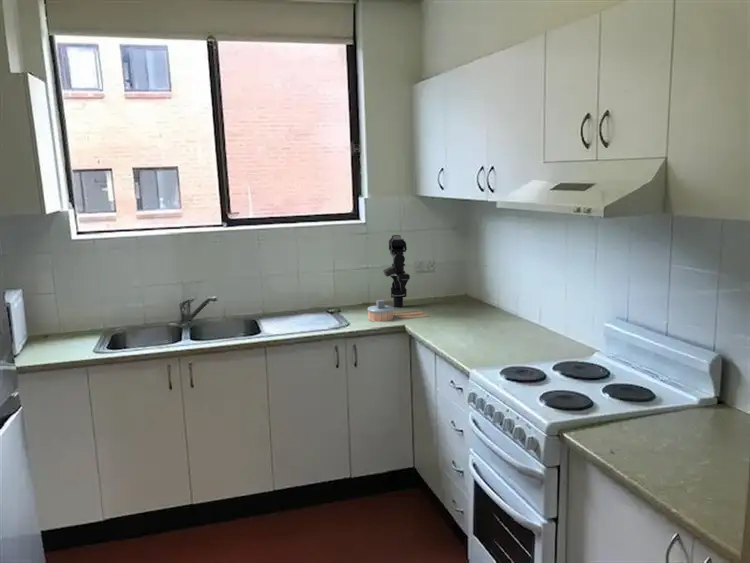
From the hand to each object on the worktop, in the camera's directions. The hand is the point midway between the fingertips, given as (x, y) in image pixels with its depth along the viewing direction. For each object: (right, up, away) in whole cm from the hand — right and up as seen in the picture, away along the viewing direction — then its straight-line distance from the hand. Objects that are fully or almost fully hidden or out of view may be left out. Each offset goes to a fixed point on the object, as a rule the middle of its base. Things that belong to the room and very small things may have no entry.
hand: (399, 289), depth 346 cm
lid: (-10, -11, -11) cm, 18 cm away
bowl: (-10, -15, -10) cm, 21 cm away
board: (+6, -14, -5) cm, 16 cm away
